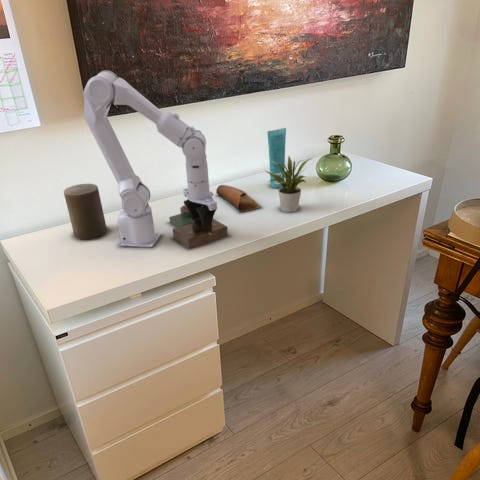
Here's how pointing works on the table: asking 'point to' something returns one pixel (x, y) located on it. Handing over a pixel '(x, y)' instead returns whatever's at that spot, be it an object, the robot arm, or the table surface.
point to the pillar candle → (85, 211)
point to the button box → (181, 218)
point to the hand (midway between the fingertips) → (202, 227)
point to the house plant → (289, 186)
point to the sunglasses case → (237, 198)
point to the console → (199, 234)
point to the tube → (276, 153)
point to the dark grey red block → (197, 225)
